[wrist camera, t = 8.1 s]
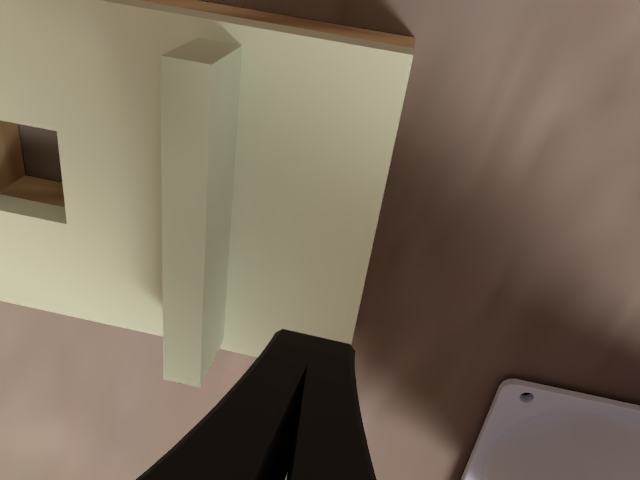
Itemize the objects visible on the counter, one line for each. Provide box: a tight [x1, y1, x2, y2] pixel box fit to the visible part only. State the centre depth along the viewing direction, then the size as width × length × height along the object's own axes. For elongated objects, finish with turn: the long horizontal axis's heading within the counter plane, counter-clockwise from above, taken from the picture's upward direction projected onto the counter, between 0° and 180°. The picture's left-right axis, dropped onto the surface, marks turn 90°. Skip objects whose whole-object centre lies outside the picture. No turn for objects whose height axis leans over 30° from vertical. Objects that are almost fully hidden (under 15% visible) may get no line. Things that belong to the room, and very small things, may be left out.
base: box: [0, 0, 415, 207], centre depth 19 cm, size 14×11×2 cm
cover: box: [0, 0, 414, 387], centre depth 17 cm, size 14×11×3 cm
